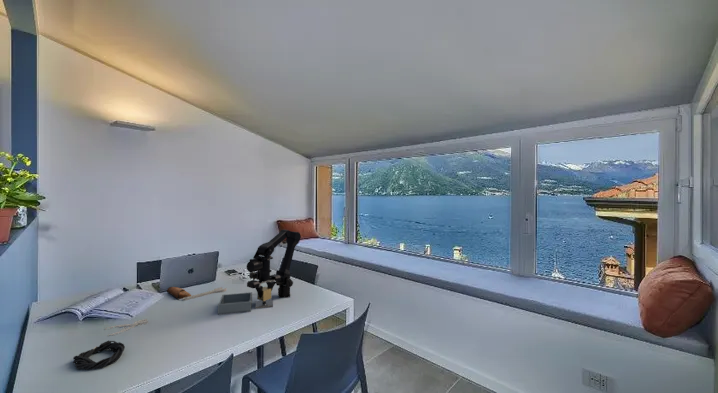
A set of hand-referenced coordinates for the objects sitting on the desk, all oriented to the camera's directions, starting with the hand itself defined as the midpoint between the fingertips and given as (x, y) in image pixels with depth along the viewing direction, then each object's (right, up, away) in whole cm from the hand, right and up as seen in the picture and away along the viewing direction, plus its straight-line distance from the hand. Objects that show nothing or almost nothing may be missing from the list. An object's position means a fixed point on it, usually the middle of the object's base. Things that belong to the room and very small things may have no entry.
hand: (264, 296), depth 165 cm
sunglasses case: (-56, -5, +15) cm, 58 cm away
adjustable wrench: (-41, -5, +16) cm, 44 cm away
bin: (-14, -5, -4) cm, 15 cm away
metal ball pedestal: (0, -5, 0) cm, 5 cm away
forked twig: (-53, -5, -29) cm, 61 cm away
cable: (-43, -5, -55) cm, 70 cm away
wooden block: (0, -1, 0) cm, 1 cm away
